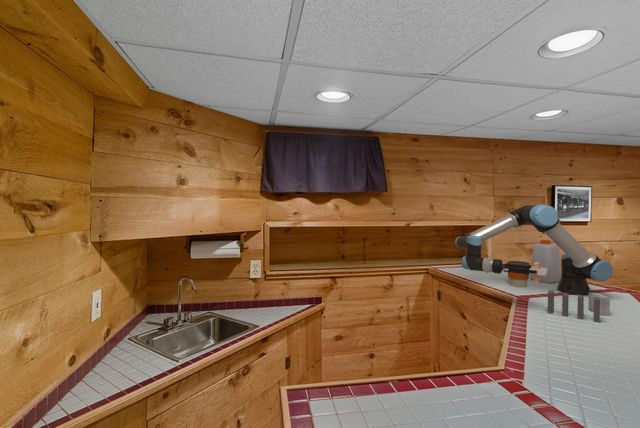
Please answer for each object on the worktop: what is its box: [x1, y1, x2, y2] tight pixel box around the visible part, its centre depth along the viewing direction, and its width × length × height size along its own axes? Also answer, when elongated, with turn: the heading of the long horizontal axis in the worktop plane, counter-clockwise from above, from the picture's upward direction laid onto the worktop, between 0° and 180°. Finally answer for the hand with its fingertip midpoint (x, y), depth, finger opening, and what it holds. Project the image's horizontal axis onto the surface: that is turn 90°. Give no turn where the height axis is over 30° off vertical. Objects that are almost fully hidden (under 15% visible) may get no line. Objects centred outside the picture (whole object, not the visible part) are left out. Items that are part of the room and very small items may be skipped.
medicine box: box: [588, 292, 611, 316], centre depth 146 cm, size 8×4×9 cm, turn 168°
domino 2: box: [561, 292, 570, 318], centre depth 144 cm, size 2×5×10 cm, turn 137°
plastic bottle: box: [529, 239, 561, 284], centre depth 209 cm, size 15×15×28 cm
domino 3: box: [577, 295, 585, 320], centre depth 140 cm, size 2×5×10 cm, turn 138°
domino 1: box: [547, 289, 555, 315], centre depth 147 cm, size 2×5×10 cm, turn 137°
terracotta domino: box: [532, 262, 541, 285], centre depth 151 cm, size 2×5×10 cm, turn 138°
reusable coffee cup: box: [506, 260, 531, 288], centre depth 197 cm, size 12×13×15 cm
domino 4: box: [593, 297, 601, 324], centre depth 136 cm, size 2×5×10 cm, turn 138°
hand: (546, 271), depth 148 cm, fingers closed on terracotta domino, 5 cm apart
